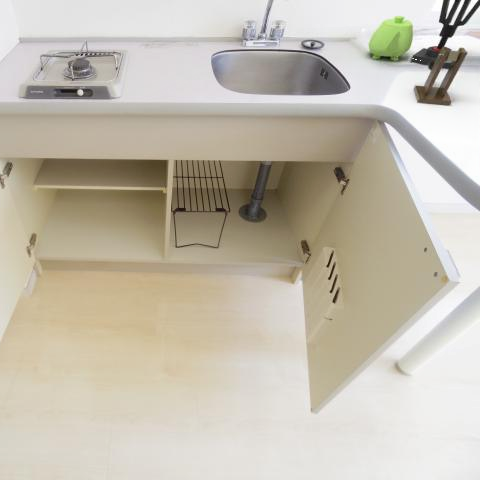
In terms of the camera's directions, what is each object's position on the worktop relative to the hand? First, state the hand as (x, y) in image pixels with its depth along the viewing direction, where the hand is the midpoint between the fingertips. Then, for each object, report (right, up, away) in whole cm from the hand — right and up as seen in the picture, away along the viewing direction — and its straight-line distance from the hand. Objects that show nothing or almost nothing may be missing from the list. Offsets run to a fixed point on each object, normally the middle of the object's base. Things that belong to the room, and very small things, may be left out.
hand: (440, 47), depth 119 cm
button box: (0, -3, +3) cm, 5 cm away
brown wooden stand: (-16, -24, -17) cm, 34 cm away
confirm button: (0, -1, +1) cm, 2 cm away
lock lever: (-15, -16, -19) cm, 29 cm away
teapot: (-13, +2, +9) cm, 16 cm away
